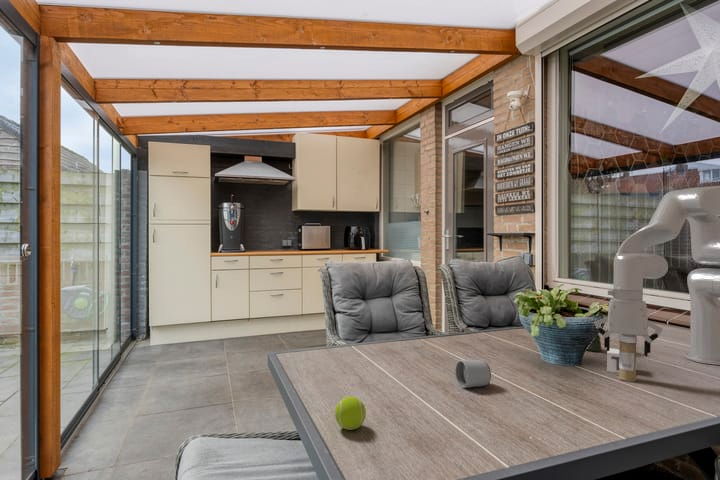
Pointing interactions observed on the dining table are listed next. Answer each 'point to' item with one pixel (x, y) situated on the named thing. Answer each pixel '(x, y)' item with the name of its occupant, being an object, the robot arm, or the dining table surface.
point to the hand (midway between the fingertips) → (626, 352)
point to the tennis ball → (350, 413)
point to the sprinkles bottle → (627, 357)
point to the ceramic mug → (472, 373)
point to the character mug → (595, 344)
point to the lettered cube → (613, 360)
